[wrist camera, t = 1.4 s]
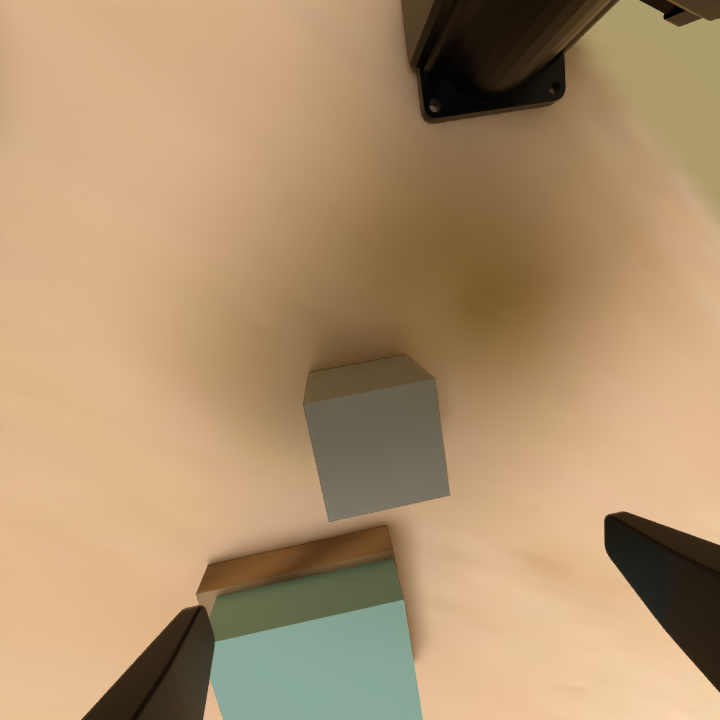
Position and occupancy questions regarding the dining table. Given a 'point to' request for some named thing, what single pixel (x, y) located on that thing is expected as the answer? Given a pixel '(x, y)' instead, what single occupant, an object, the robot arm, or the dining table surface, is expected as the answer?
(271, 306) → the dining table surface
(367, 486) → the grey cube
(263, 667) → the tower top
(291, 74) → the dining table surface
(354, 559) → the tower bottom
